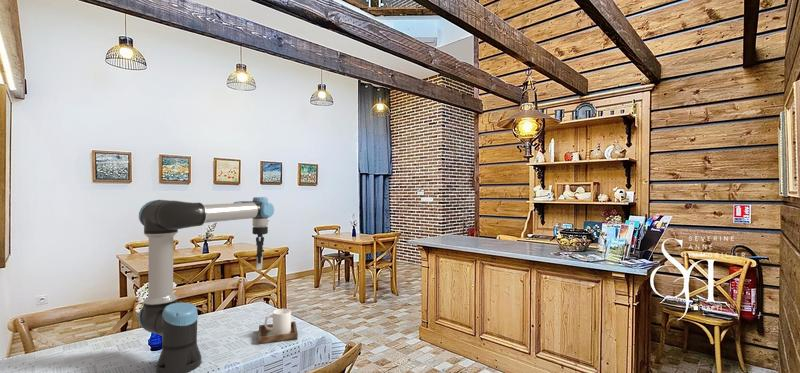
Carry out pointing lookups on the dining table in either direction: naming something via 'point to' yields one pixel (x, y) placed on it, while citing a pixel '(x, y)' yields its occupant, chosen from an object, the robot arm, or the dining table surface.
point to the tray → (269, 337)
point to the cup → (280, 321)
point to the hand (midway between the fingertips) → (259, 266)
